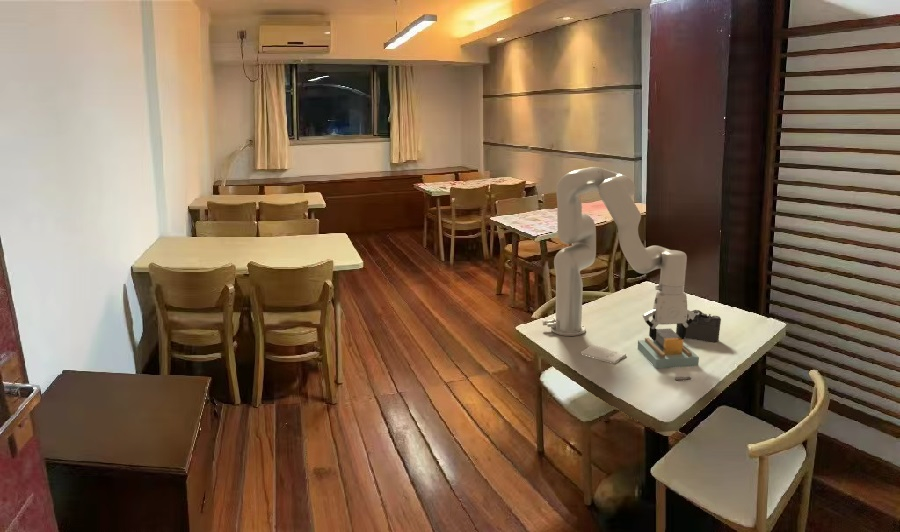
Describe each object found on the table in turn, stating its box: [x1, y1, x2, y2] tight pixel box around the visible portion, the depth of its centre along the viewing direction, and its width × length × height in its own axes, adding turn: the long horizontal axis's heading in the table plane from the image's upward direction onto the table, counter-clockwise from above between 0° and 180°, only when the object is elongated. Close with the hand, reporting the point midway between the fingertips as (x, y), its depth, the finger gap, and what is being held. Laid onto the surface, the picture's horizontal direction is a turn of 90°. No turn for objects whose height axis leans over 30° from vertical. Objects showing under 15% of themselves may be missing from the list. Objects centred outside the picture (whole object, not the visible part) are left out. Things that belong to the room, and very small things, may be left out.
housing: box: [653, 328, 684, 355], centre depth 210 cm, size 10×6×5 cm, turn 4°
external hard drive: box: [580, 344, 627, 365], centre depth 214 cm, size 2×8×12 cm
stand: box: [637, 337, 700, 369], centre depth 211 cm, size 14×16×4 cm
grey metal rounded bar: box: [674, 375, 693, 382], centre depth 195 cm, size 5×1×1 cm, turn 94°
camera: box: [675, 309, 722, 343], centre depth 227 cm, size 14×11×10 cm
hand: (667, 338), depth 210 cm, fingers open, 9 cm apart
